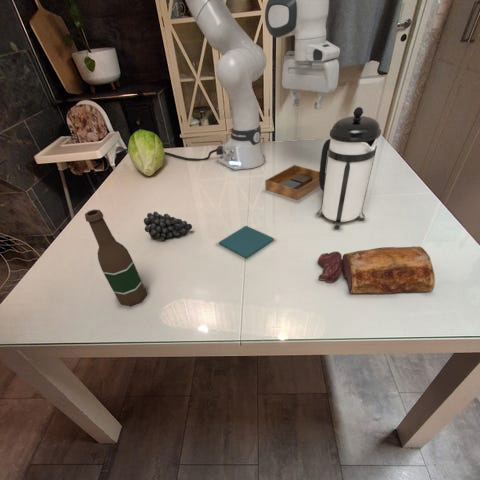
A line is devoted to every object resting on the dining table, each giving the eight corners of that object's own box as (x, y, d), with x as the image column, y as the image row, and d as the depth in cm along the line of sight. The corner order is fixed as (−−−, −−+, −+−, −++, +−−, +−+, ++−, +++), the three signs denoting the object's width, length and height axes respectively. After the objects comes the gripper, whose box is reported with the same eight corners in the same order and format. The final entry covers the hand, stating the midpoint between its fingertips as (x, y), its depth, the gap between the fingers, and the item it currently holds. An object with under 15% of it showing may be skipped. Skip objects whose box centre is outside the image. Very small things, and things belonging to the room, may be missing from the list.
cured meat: (311, 256, 84) (314, 235, 79) (402, 249, 83) (410, 227, 77) (324, 301, 72) (328, 279, 67) (431, 294, 70) (443, 271, 65)
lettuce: (171, 184, 137) (139, 193, 138) (166, 148, 146) (136, 157, 148) (158, 157, 124) (122, 168, 125) (154, 119, 133) (121, 129, 134)
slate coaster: (278, 190, 112) (278, 185, 111) (288, 184, 115) (288, 179, 113) (290, 194, 109) (291, 189, 107) (301, 188, 112) (301, 183, 110)
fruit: (189, 204, 92) (141, 207, 93) (188, 225, 89) (138, 228, 89) (194, 223, 100) (150, 226, 101) (193, 243, 97) (148, 246, 97)
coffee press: (368, 208, 99) (395, 98, 77) (359, 233, 90) (387, 116, 68) (316, 201, 105) (327, 98, 83) (303, 224, 96) (312, 115, 73)
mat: (219, 244, 92) (218, 242, 92) (246, 227, 97) (246, 225, 97) (246, 258, 86) (246, 256, 85) (273, 240, 91) (273, 238, 91)
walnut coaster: (290, 183, 115) (290, 178, 114) (299, 178, 118) (300, 173, 116) (302, 187, 112) (303, 182, 110) (312, 182, 114) (312, 176, 113)
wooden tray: (265, 191, 114) (265, 180, 111) (293, 175, 121) (294, 164, 118) (297, 202, 106) (297, 190, 103) (325, 184, 113) (326, 173, 110)
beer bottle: (121, 289, 82) (79, 205, 64) (149, 285, 82) (114, 201, 64) (115, 308, 77) (67, 224, 59) (145, 305, 76) (106, 219, 59)
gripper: (277, 52, 92) (277, 106, 102) (330, 53, 80) (324, 113, 91) (291, 48, 95) (290, 101, 105) (345, 49, 83) (337, 108, 93)
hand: (306, 107), depth 98 cm, fingers open, 8 cm apart
